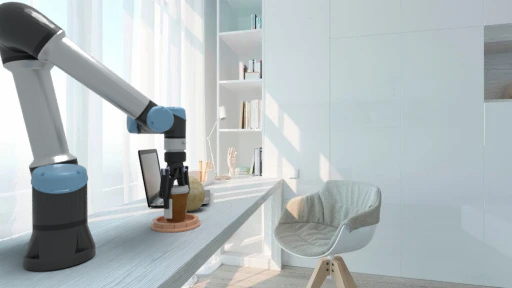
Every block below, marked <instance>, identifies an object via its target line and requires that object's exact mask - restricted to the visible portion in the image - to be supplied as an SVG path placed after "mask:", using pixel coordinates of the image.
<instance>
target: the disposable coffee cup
mask: <svg viewBox="0 0 512 288" xmlns="http://www.w3.org/2000/svg"><path fill="white" fill-rule="evenodd" d="M188 192H189V188H188V185H184V186H178V184H174V185H173V188H172V189H171V198H170V199H172V218H171V219H169V218H166V220H167V222H181V221H184V220H185V214H186V213H187V211H186V206H187V197H188ZM167 196H168V195H167Z"/></svg>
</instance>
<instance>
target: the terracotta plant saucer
mask: <svg viewBox="0 0 512 288" xmlns="http://www.w3.org/2000/svg"><path fill="white" fill-rule="evenodd" d="M200 226H201V219H199V216H198V215H196V214H193V213H188V212H186V214H185V220H184V221H181V222H167V220H166V218H164V214H163V215H159V216H156V217H154V218H153V219H152V222H151V223H150V230H151V231H153V232H157V233H163V234H165V233H167V234H171V233H175V234H176V233H182V232H188V231H193V230H195V229H197V228H199V227H200Z"/></svg>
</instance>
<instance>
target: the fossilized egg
mask: <svg viewBox="0 0 512 288" xmlns="http://www.w3.org/2000/svg"><path fill="white" fill-rule="evenodd" d="M189 184H190V191H189V194H188V197H187V206H186V212H195V211H197V210H198V209H200V207H202V205H203V204H204V201H205V200H206V199H205V197H206V191H205V188H204V185H203V184H202V182H201V181H200V180H199V179H198V178H196V177H195V176H192V175H191V176H190V175H189Z"/></svg>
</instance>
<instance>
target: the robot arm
mask: <svg viewBox="0 0 512 288" xmlns="http://www.w3.org/2000/svg"><path fill="white" fill-rule="evenodd" d="M0 60H1V63H2V67H3V68H4V69H5V70H7V71H8V72H10V73H11V74H12V78H13V82H14V85H15V89H16V93H17V98H18V102H19V106H20V110H21V113H22V118H23V121H24V126H25V129H26V134H27V137H28V138H27V139H28V141H29V146H30V150H31V152H32V153H31V154H32V156H33V159H32V162H30V163H29V166H28V169H29V172H30V185H31V206H32V207H31V211H32V212H31V216H32V219H31V220H32V221H31V222H32V225H31V227H32V228H31V229H32V230H31V231H32V232H31V235H30V238H29V241H28V244H27V246H26V249H25V251H24V255H23V259H22V261H23V262H22V263H23V268H24V269H26V270H29V271H35V272H44V271H45V272H46V271H55V270H60V269H65V268H70V267H73V266H76V265H79V264H82V263H84V262H86V261H88V260H90V259H92V258H93V257H94V256H96V243H95V240H94V238H93V235H92V232H91V230H90V227H89V222H88V181H89V176H88V171H87V168H86V167H85V166H83V165H81V164H79V162H78V157H77V156H76V155H74V154H72V153H71V152H70V150H69V145H68V142H67V138H66V132H65V128H64V124H63V119H62V116H61V112H60V111H61V110H60V107H59V103H58V98H57V95H56V90H55V87H54V81H53V78H52V74H51V71H52V69H53V68H54V67H57V68H58V69H59V70H61V71H62V72H63V73H65V74H67V75H68V76H70V78H73V79H74V80H75V81H77V82H78V83H80V84H81V85H82V86H84V87H85V88H87V89H89V90H90V91H92V92H93V93H94V94H96V95H97V96H99V97H100V98H102V99H103V100H104V101H107V103H110V104H111V105H113V106H114V107H115V108H116V109H118V110H119V111H121V112H122V113H124V114H125V115H127V116H126V130H127V132H128V133H129V134H134V135H136V134H137V135H148V134H149V135H163V138H164V139H163V150H164V153H163V159H164V162H165V163H166V166H165V167H163V168H161V169H160V183H159V191H158V192H159V193H158V198H159V199H160V200H163V215H164V218H169V219H171V218H172V199H170V198H171V189H172V188H173V185H175V181H176V183H177V185H178V186H184V185H188V188H189V191H190V184H189V176H190V175H189V167H190V166H189V165H184V163H185V162H187V152H186V151H185V150H187V114H186V109H185V108H184V107H180V106H162V105H158V104H157V103H156V102H154V101H153V100H151V99H150V98H149V97H147V96H146V95H144V94H143V93H142V92H140V91H139V90H138V89H137V88H135V86H133V85H131V84H130V83H128V82H127V81H126V80H125V79H124V78H122V77H120V76H119V75H118V74H116V73H115V72H114V71H112V70H111V69H110V68H109V67H107V66H106V65H105V64H104V63H102V62H100V61H99V60H98V59H96V58H95V57H94V56H92V55H91V54H90V53H88V51H86V50H84V49H83V48H82V47H81V46H79V45H78V44H76V43H75V42H74V41H72V40H71V39H70V38H68V37H67V34H66V31H65V29H63V28H62V27H60V26H59V25H58V23H57V24H56V23H55V22H54V21H53V20H52V19H50V18H49V17H48V16H46V15H45V14H44V13H43V12H41V11H39V10H38V9H37V8H35V7H33V6H31V5H28V4H26V3H23V2H18V1H6V2H5V1H4V2H1V3H0ZM188 194H189V192H188ZM167 195H168V196H167Z"/></svg>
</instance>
